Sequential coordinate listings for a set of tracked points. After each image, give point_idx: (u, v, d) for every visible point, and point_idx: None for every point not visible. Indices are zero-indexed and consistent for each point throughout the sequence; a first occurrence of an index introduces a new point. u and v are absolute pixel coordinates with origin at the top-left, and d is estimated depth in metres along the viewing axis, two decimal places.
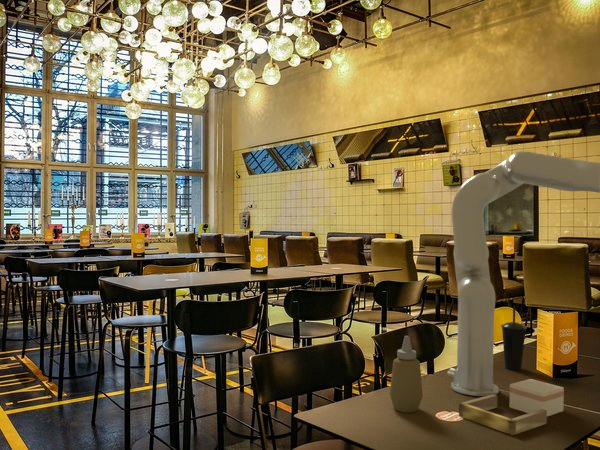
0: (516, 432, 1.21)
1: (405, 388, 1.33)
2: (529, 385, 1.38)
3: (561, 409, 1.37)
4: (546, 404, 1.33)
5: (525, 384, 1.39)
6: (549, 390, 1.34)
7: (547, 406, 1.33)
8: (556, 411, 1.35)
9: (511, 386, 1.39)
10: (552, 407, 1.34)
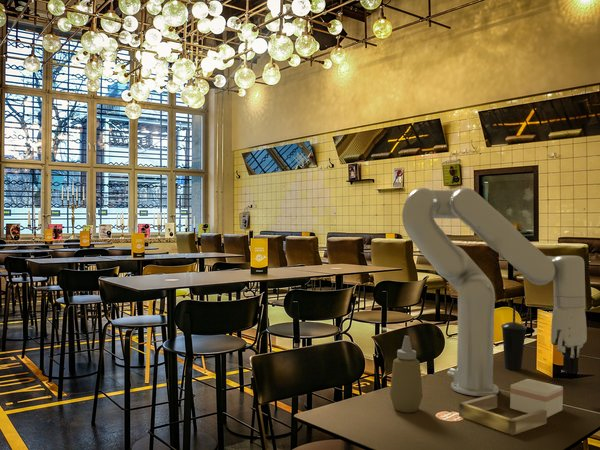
0: (516, 432, 1.21)
1: (405, 388, 1.33)
2: (529, 385, 1.38)
3: (560, 408, 1.37)
4: (548, 404, 1.33)
5: (525, 384, 1.39)
6: (550, 390, 1.35)
7: (550, 406, 1.33)
8: (556, 410, 1.36)
9: (512, 387, 1.38)
10: (553, 407, 1.35)
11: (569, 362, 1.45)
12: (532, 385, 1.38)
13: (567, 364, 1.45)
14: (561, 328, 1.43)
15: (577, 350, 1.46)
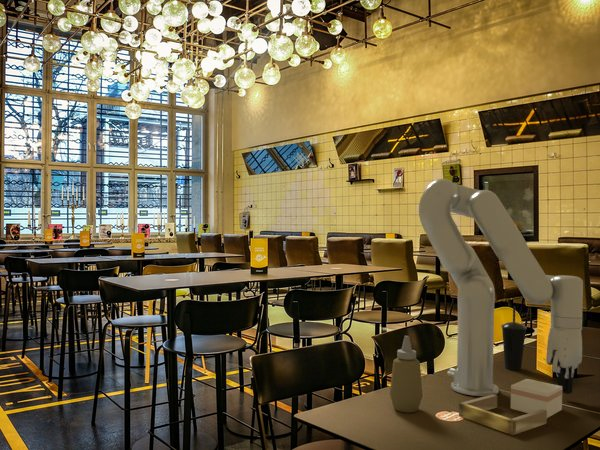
0: (516, 432, 1.21)
1: (405, 388, 1.33)
2: (529, 385, 1.38)
3: (560, 408, 1.37)
4: (549, 404, 1.33)
5: (525, 384, 1.39)
6: (551, 390, 1.35)
7: (550, 406, 1.33)
8: (556, 410, 1.36)
9: (512, 387, 1.38)
10: (554, 407, 1.35)
11: (563, 382, 1.45)
12: (532, 385, 1.38)
13: (561, 384, 1.45)
14: (557, 348, 1.43)
15: (572, 371, 1.45)
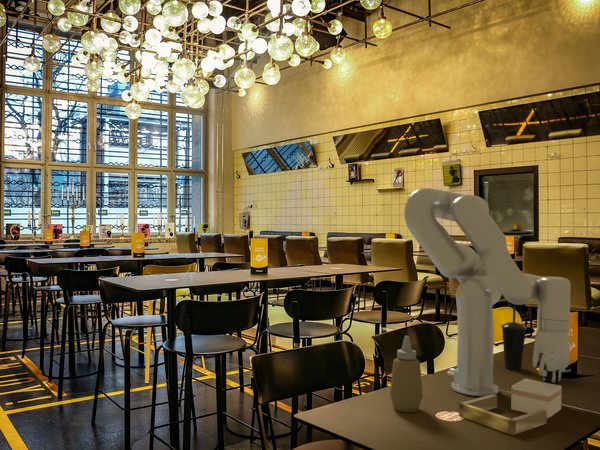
0: (516, 432, 1.21)
1: (405, 388, 1.33)
2: (530, 385, 1.38)
3: (559, 407, 1.38)
4: (550, 404, 1.33)
5: (525, 384, 1.39)
6: (551, 389, 1.35)
7: (551, 405, 1.33)
8: (556, 410, 1.36)
9: (513, 387, 1.38)
10: (554, 406, 1.35)
11: None
12: (532, 385, 1.38)
13: None
14: (543, 351, 1.39)
15: (559, 374, 1.42)
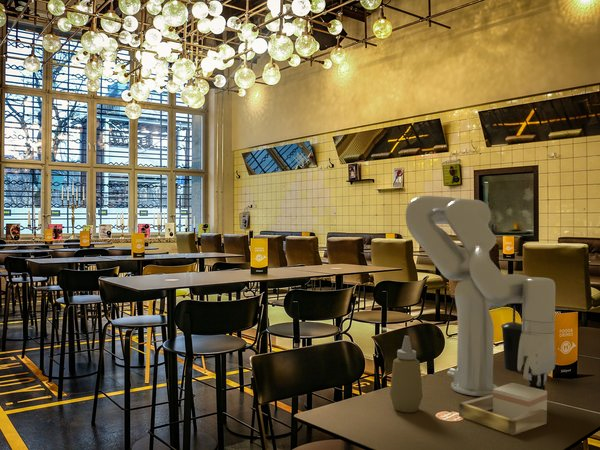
0: (516, 432, 1.21)
1: (405, 388, 1.33)
2: (512, 389, 1.34)
3: None
4: (531, 409, 1.29)
5: (508, 388, 1.35)
6: (533, 394, 1.31)
7: (532, 411, 1.29)
8: None
9: (494, 391, 1.34)
10: None
11: None
12: (515, 389, 1.34)
13: None
14: (528, 354, 1.35)
15: (544, 378, 1.38)
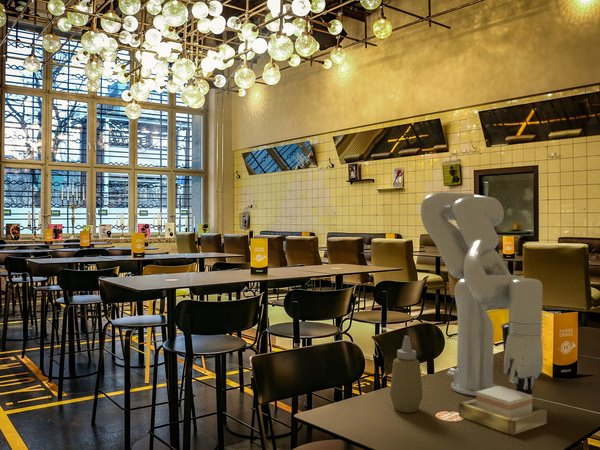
0: (516, 432, 1.21)
1: (405, 388, 1.33)
2: (496, 393, 1.32)
3: None
4: (512, 413, 1.26)
5: (492, 391, 1.32)
6: (516, 398, 1.28)
7: (514, 415, 1.26)
8: None
9: (477, 394, 1.32)
10: None
11: None
12: (499, 392, 1.32)
13: None
14: (514, 357, 1.32)
15: (531, 381, 1.34)
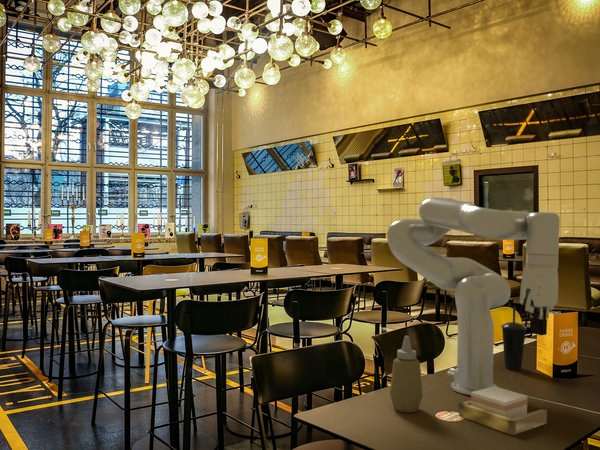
0: (516, 432, 1.21)
1: (405, 388, 1.33)
2: (491, 393, 1.31)
3: None
4: (508, 414, 1.25)
5: (487, 392, 1.32)
6: (511, 399, 1.27)
7: (510, 415, 1.26)
8: None
9: (472, 394, 1.31)
10: (515, 417, 1.27)
11: (537, 323, 1.38)
12: (494, 393, 1.31)
13: (535, 325, 1.39)
14: (530, 287, 1.36)
15: (546, 311, 1.39)
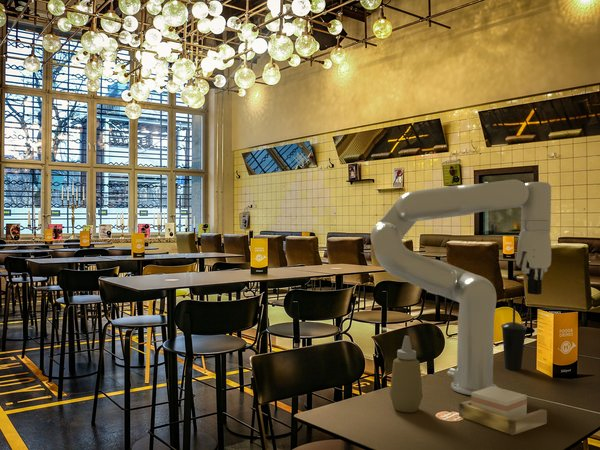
0: (516, 432, 1.21)
1: (405, 388, 1.33)
2: (491, 393, 1.31)
3: None
4: (509, 414, 1.25)
5: (487, 392, 1.32)
6: (512, 398, 1.27)
7: (511, 415, 1.26)
8: None
9: (473, 395, 1.31)
10: (515, 417, 1.27)
11: (533, 284, 1.51)
12: (494, 393, 1.31)
13: (531, 286, 1.51)
14: (526, 250, 1.49)
15: (541, 273, 1.52)
